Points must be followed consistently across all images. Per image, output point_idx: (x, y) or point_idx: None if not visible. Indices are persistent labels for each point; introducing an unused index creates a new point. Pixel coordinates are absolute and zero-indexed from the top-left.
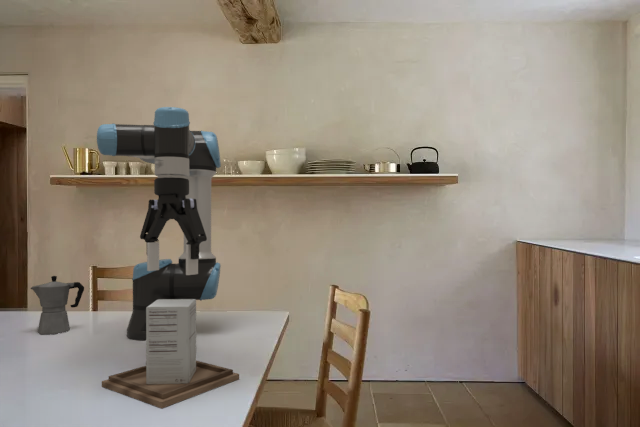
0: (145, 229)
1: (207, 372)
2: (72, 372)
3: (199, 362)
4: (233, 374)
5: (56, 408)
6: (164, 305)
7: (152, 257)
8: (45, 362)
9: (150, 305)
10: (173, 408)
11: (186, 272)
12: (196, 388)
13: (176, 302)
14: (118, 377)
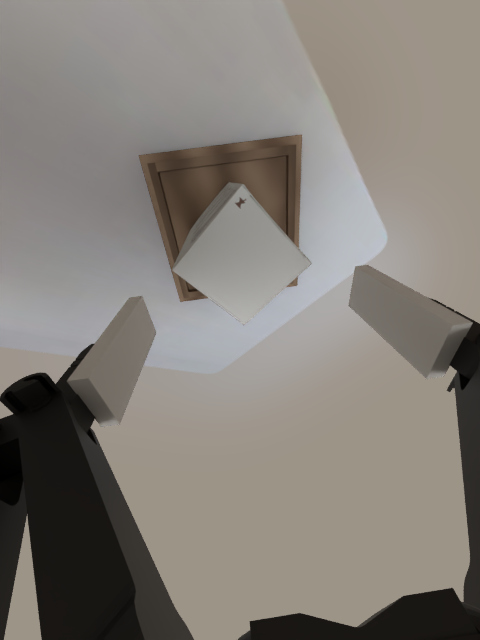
0: (23, 525)
1: (252, 173)
2: (94, 303)
3: (214, 161)
4: (296, 145)
5: (215, 345)
6: (261, 296)
7: (138, 353)
8: (17, 312)
9: (236, 314)
10: (305, 274)
11: (355, 309)
12: (295, 233)
13: (253, 261)
14: (197, 292)
